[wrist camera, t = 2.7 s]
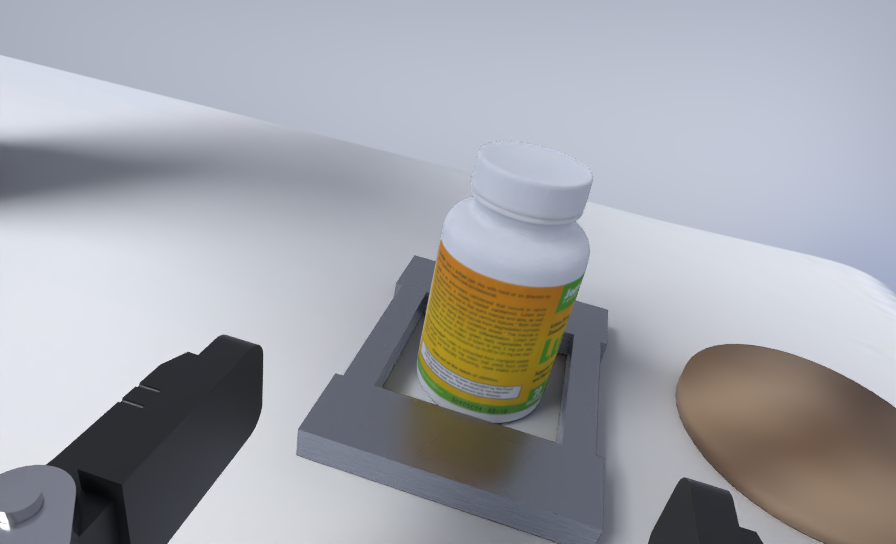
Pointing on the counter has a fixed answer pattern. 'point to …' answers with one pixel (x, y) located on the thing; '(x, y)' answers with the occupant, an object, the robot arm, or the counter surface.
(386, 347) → the grey rectangular frame
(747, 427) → the walnut pad
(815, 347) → the counter surface
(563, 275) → the supplement bottle
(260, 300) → the counter surface
